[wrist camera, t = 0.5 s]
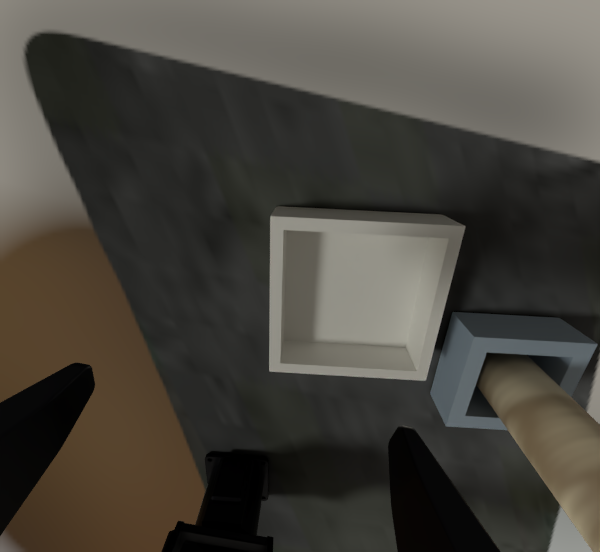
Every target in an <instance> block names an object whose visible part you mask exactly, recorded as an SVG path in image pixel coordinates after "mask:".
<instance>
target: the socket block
mask: <svg viewBox="0 0 600 552" xmlns="http://www.w3.org/2000/svg"><path fill="white" fill-rule="evenodd" d="M597 345H598V344H597V343H596V342H594V341H593V340H591V339H590V338H588V337H587V336H585V335H584V334H582V333H581V332H580V331H578V330H577V329H575V328H574V327H572V326H571V325H569V324H568V323H566V322H565V321H563V320H562V319H560V318H553V317H535V316H517V315H500V314H482V313H464V312H452V315H451V319H450V322H449V326H448V330H447V334H446V337H445V341H444V345H443V348H442V352H441V356H440V359H439V363H438V367H437V370H436V374H435V378H434V381H433V385H432V389H431V392H430V394H431V396H432V398H433V400H434V402H435V405H436V407H437V409H438V411H439V413H440V415H441V417H442V419H443V421H444V423H445V425H446V426H450V427H466V428H482V429H498V430H508V429H507V428H506V427H505V425H504V424H503V422H502V421H501V419H500V418H499V417H498V415H497V414H496V412H495V411H494V409H493V408H492V407H491V405H490V404H489V402H488V401H487V399H486V398H485V397H484V395H483V394H482V392H481V391H480V389H479V388H478V387H477V386H476V383H477V380H478V377H479V374H480V371H481V368H482V365H483V362H484V359H485V356H486V353H487V352H488V353H506V354H523V355H528V357H529V358H531V359H532V360H533V361H534V362H535V363H536V364H537V365H538V366H539V367H540V368H541V369H542V370H543V371H544V372H545V373H546V374H547V375H548V376H549V377H550V378H551V379H552V380H554V381H555V382H556V383H557V384H558V385H559V386H560V387H561V388H562V389H563V390H564V391H565V392H566V393H567V394H568V395H569V396H570V397H571V396H572V394H573V392H574V390H575V388H576V386H577V385H578V383H579V381H580V379H581V377H582V375H583V373H584V371H585V369H586V367H587V365H588V363H589V361H590V359H591V357H592V355H593V353H594V351H595V349H596V347H597Z"/></svg>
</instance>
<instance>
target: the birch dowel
mask: <svg viewBox="0 0 600 552" xmlns="http://www.w3.org/2000/svg"><path fill="white" fill-rule="evenodd" d="M476 385H477V387H478V388H479V389H480V391H481V392H482V394H483V395H484V397H485V398H486V399H487V401H488V402H489V404H490V405H491V407H492V408H493V409H494V411H495V412H496V414H497V415H498V417H499V418H500V419H501V421H502V422H503V424H504V425H505V427H506V428H507V429H508V431H509V432H510V434H511V435H512V437H513V438H514V440H515V441H516V442H517V444H518V445H519V447H520V448H521V450H522V451H523V452H524V454H525V455H526V457H527V458H528V460H529V461H530V462H531V464H532V465H533V467H534V468H535V470H536V471H537V472H538V474H539V475H540V477H541V478H542V480H543V481H544V482H545V484H546V485H547V487H548V488H549V490H550V491H551V492H552V494H553V495H554V497H555V498H556V500H557V501H558V502H559V504H560V505H561V507H562V508H563V510H564V511H565V513H566V514H567V515H568V517H569V518H570V520H571V521H572V523H573V524H574V525H575V527H576V528H577V529H578V531H579V533H580V534H581V535H582V537H583V538H584V540H585V541H586V543H587V544H588V545H589V547H590V548H591V549H592V551H593V552H600V424H598V423H597V422H596V421H595V420H594V419H593V418H592V417H591V416H590V415H589V414H588V413H587V412H586V411H585V410H584V409H583V408H582V407H581V406H580V405H579V404H578V403H577V402H575V401H574V400H573V399H572V398H571V397H570V396H569V395H568V394H567V393H566V392H565V391H564V390H563V389H562V388H561V387H560V386H559V385H558V384H557V383H556V382H555V381H554V380H552V379H551V378H550V377H549V376H548V375H547V374H546V373H545V372H544V371H543V370H542V369H541V368H540V367H539V366H538V365H537V364H536V363H535V362H534V361H533V360H532V359H531V358H529V357H528V356H527V355H523V354H506V353H488V352H487V353H486V356H485V359H484V362H483V365H482V368H481V371H480V374H479V377H478V380H477V383H476Z"/></svg>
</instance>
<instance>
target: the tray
mask: <svg viewBox="0 0 600 552" xmlns="http://www.w3.org/2000/svg"><path fill="white" fill-rule="evenodd" d="M465 227H466V226H464V225H462V224H460V223H458V222H456V221H454V220H452V219H450V218H448V217H446V216H444V215H442V214H422V213H402V212H383V211H363V210H344V209H324V208H304V207H285V206H276V208H275V209H274V211H273V213H272V214H271V216H270V346H269V371H271V372H287V373H304V374H321V375H338V376H355V377H372V378H388V379H405V380H422V381H426V378H427V374H428V370H429V366H430V362H431V358H432V355H433V351H434V347H435V343H436V339H437V335H438V331H439V327H440V324H441V320H442V316H443V312H444V308H445V304H446V300H447V297H448V293H449V289H450V285H451V281H452V277H453V273H454V269H455V266H456V262H457V258H458V254H459V250H460V246H461V242H462V238H463V235H464V231H465Z"/></svg>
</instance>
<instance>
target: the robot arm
mask: <svg viewBox="0 0 600 552" xmlns="http://www.w3.org/2000/svg"><path fill="white" fill-rule="evenodd" d="M94 387H95V382H94V377H93V372H92V368H91V366H90V365H87V364H82V363H73V364H71V365H69V366H67V367H65V368H63V369H61V370H59V371H58V372H56V373H54V374H52V375H51V376H48V377H47V378H45V379H43V380H41V381H39V382H37V383H36V384H34V385H32V386H30V387H28V388H26V389H25V390H23V391H21V392H19V393H17V394H15V395H13V396H12V397H10V398H8V399H6V400H4V401H3V402H1V403H0V535H1V534H2V533H3V531H4V530H5V528H6V527H7V525H8V524H9V522H10V521H11V520H12V518H13V517H14V515H15V514H16V512H17V511H18V510H19V508H20V507H21V505H22V504H23V502H24V501H25V499H26V498H27V497H28V495H29V494H30V492H31V491H32V489H33V488H34V487H35V485H36V484H37V482H38V481H39V479H40V478H41V476H42V475H43V474H44V472H45V471H46V469H47V468H48V466H49V465H50V463H51V462H52V461H53V459H54V458H55V456H56V455H57V453H58V452H59V450H60V449H61V447H62V446H63V444H64V442H65V441H66V439H67V437H68V435H69V434H70V432H71V430H72V428H73V427H74V425H75V423H76V421H77V419H78V418H79V416H80V414H81V412H82V411H83V409H84V407H85V405H86V403H87V402H88V400H89V398H90V396H91V395H92V393H93V390H94ZM388 454H389V474H390V494H391V507H392V515H393V522H394V529H395V536H396V543H397V550H398V552H500V550H499V549H498V547H497V546H496V545H495V543H494V542H493V540H492V539H491V537H490V536H489V535H488V533H487V532H486V530H485V529H484V527H483V526H482V525H481V523H480V522H479V520H478V519H477V517H476V516H475V515H474V513H473V512H472V510H471V509H470V507H469V506H468V505H467V503H466V502H465V500H464V499H463V497H462V496H461V495H460V493H459V492H458V490H457V489H456V487H455V486H454V485H453V483H452V482H451V480H450V479H449V477H448V476H447V475H446V473H445V472H444V470H443V469H442V467H441V466H440V465H439V463H438V462H437V460H436V459H435V457H434V456H433V455H432V453H431V452H430V450H429V449H428V447H427V446H426V445H425V443H424V442H423V440H422V439H421V437H420V436H419V435H418V433H417V432H416V430H415V429H413V428H411V427H407V426H402V425H401V426H399V427H398V428H397V429H396V431H395V433H394V434H393V436H392V437H391V439H390V441H389V445H388ZM205 465H206V474H207V483H208V485H207V488H206V492H205V495H204V498H203V501H202V505H201V508H200V511H199V514H198V518H197V521H196V524H195V525H192V524H186V523H184V522H183V521H178V522H177V525H176V527H175V529H174V530H172V531H170V532H169V533H168V536H167V539H166V541H165V544H164V547H163V549H162V552H273V537H270V536H267V537H262V536H257V529H258V522H259V515H260V508H261V501H266V500H267V499H268V473H269V460H268V458H267V457H264V456H249V455H233V454H218V453H208V454H207V455H206V457H205Z"/></svg>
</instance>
